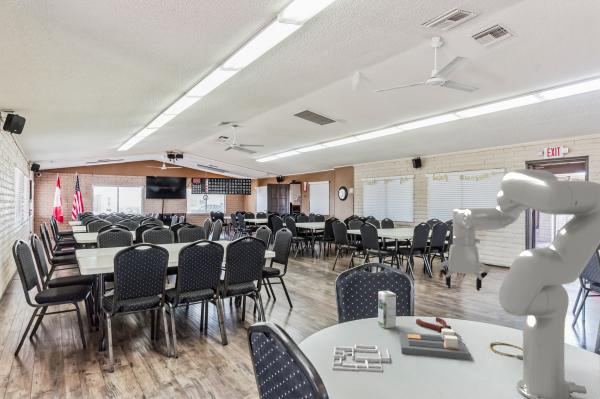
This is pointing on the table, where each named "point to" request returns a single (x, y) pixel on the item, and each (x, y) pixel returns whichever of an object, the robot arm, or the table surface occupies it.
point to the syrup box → (386, 309)
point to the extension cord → (505, 353)
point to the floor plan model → (359, 358)
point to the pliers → (435, 327)
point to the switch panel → (431, 346)
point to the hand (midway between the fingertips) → (463, 288)
